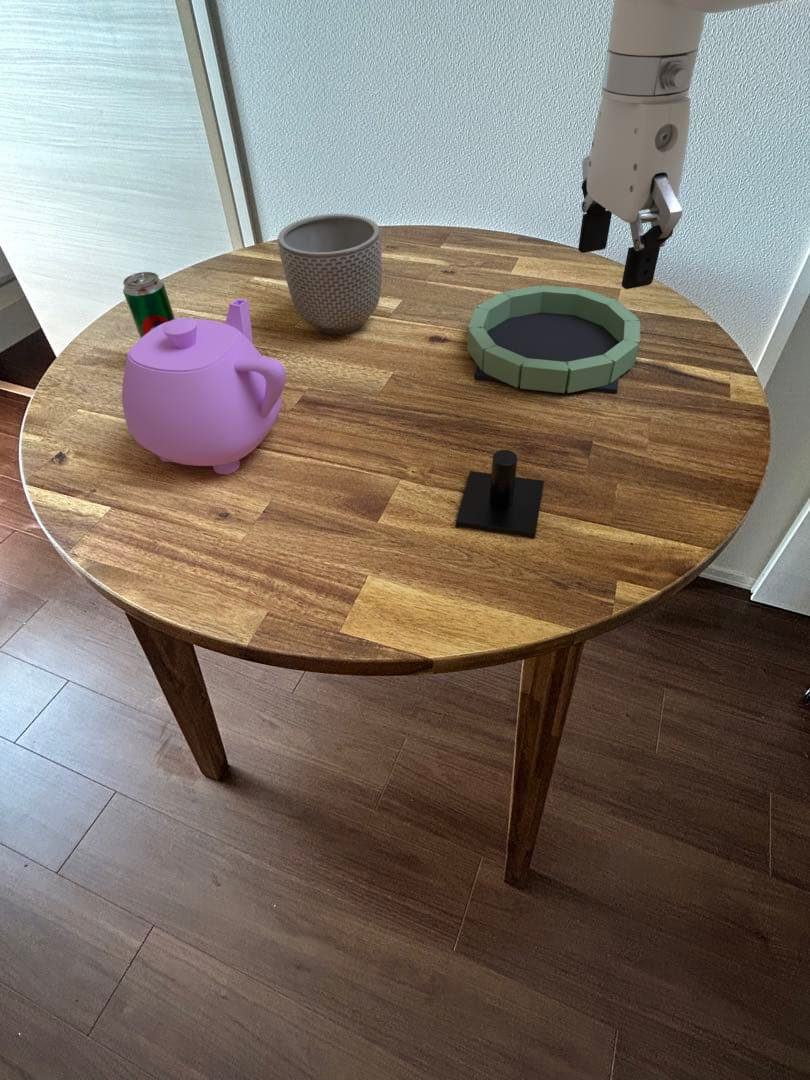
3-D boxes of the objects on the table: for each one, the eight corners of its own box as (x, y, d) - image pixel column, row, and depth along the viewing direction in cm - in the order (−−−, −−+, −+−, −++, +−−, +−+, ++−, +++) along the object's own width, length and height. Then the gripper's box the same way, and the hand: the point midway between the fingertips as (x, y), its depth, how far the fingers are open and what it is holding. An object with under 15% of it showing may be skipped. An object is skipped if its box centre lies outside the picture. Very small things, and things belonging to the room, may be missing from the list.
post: (543, 485, 69) (550, 437, 65) (534, 538, 64) (542, 490, 59) (469, 476, 71) (471, 427, 66) (455, 526, 66) (456, 478, 61)
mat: (620, 323, 92) (621, 319, 92) (616, 393, 81) (617, 389, 80) (495, 312, 96) (495, 308, 96) (473, 378, 84) (473, 374, 84)
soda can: (195, 359, 90) (169, 275, 82) (169, 377, 88) (139, 291, 79) (170, 350, 92) (142, 267, 84) (143, 367, 89) (111, 283, 81)
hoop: (635, 313, 93) (640, 292, 91) (633, 400, 78) (639, 377, 76) (483, 301, 97) (484, 281, 95) (455, 382, 83) (455, 359, 80)
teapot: (343, 401, 82) (328, 285, 71) (268, 504, 69) (236, 383, 58) (209, 377, 87) (176, 266, 76) (117, 469, 74) (61, 352, 63)
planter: (386, 345, 91) (380, 251, 82) (288, 349, 91) (270, 257, 82) (387, 299, 100) (381, 210, 91) (297, 303, 101) (283, 215, 91)
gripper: (746, 89, 52) (690, 295, 64) (636, 53, 64) (606, 233, 76) (662, 100, 51) (621, 308, 63) (565, 62, 63) (546, 243, 75)
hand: (613, 267), depth 69 cm, fingers open, 9 cm apart
